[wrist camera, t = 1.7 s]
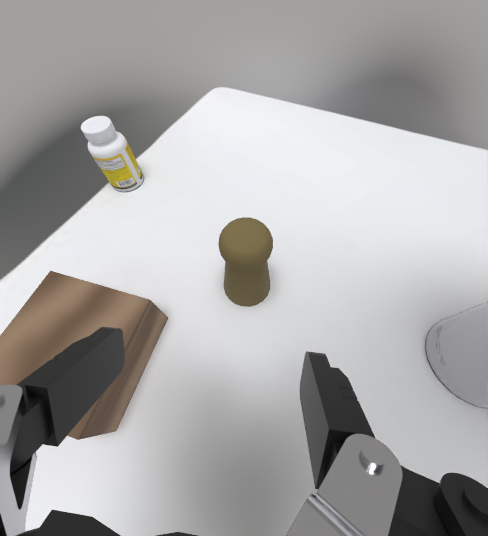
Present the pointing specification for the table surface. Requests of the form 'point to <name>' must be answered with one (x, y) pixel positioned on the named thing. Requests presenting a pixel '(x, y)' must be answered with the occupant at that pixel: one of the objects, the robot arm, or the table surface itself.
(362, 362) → the table surface
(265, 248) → the cork
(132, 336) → the walnut riser
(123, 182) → the supplement bottle
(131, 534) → the table surface
